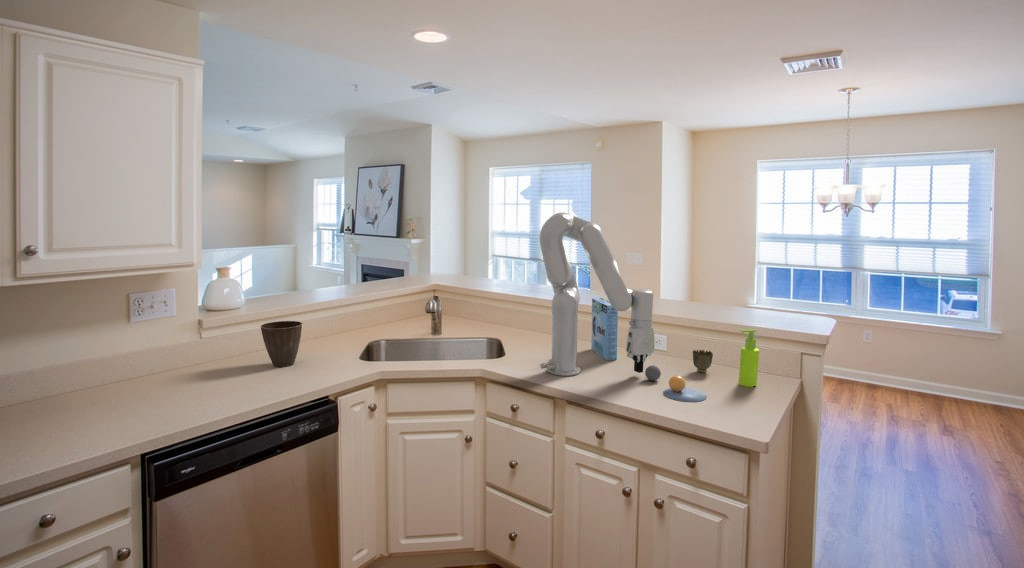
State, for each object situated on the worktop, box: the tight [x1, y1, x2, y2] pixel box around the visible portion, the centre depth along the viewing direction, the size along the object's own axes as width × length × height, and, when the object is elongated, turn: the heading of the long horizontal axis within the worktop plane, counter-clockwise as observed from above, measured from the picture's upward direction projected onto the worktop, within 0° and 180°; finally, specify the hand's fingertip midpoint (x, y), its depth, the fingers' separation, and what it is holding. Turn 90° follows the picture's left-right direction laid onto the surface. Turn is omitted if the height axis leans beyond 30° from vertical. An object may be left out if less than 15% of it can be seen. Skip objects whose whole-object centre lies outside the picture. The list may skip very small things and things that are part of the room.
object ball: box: [668, 375, 686, 392], centre depth 191 cm, size 6×6×6 cm
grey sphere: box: [644, 364, 662, 382], centre depth 203 cm, size 6×6×6 cm
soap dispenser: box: [738, 328, 760, 388], centre depth 198 cm, size 6×7×20 cm
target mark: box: [662, 387, 708, 403], centre depth 188 cm, size 14×14×1 cm
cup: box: [692, 349, 714, 374], centre depth 213 cm, size 8×7×8 cm
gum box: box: [591, 297, 619, 361], centre depth 237 cm, size 20×5×23 cm, turn 10°
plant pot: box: [260, 320, 303, 368], centre depth 218 cm, size 15×15×16 cm
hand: (638, 371), depth 208 cm, fingers closed
